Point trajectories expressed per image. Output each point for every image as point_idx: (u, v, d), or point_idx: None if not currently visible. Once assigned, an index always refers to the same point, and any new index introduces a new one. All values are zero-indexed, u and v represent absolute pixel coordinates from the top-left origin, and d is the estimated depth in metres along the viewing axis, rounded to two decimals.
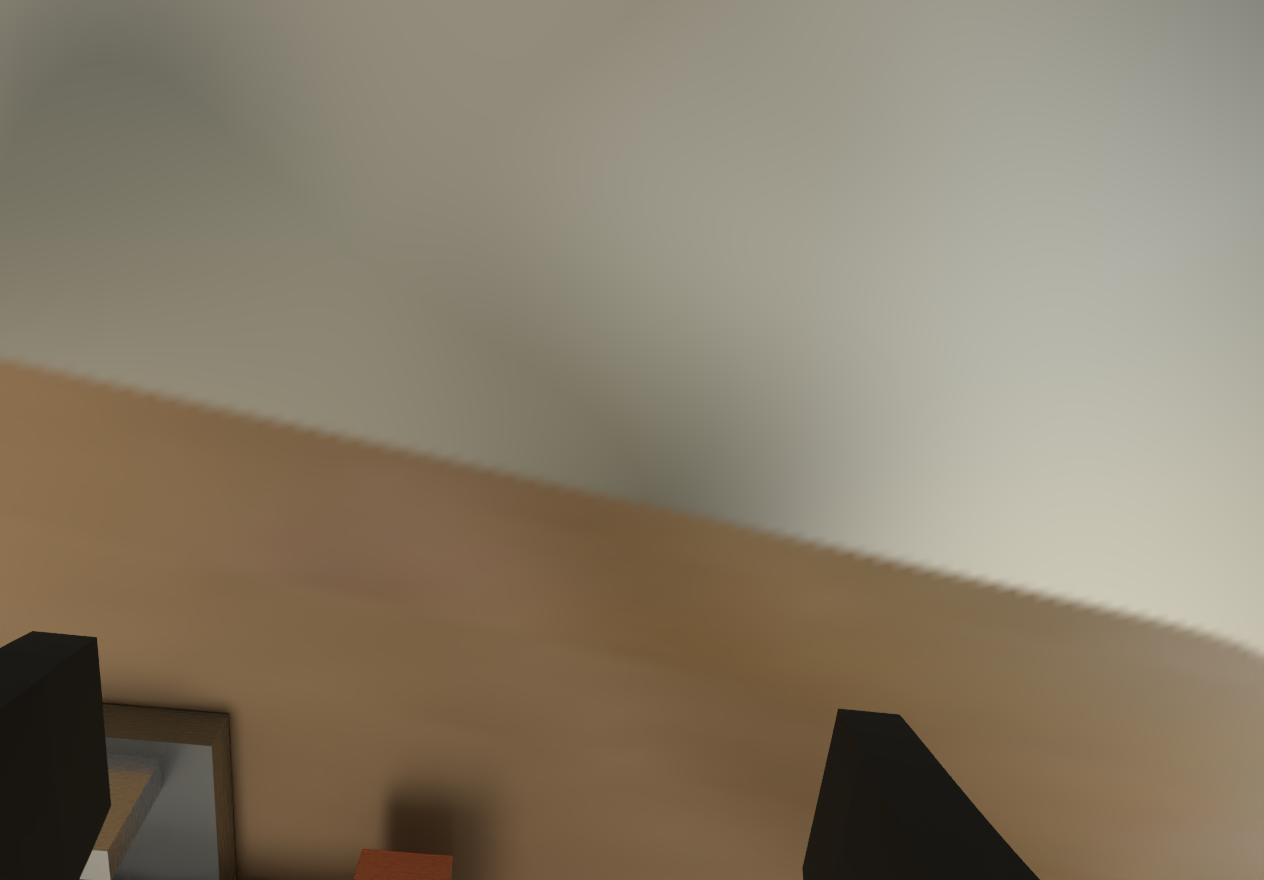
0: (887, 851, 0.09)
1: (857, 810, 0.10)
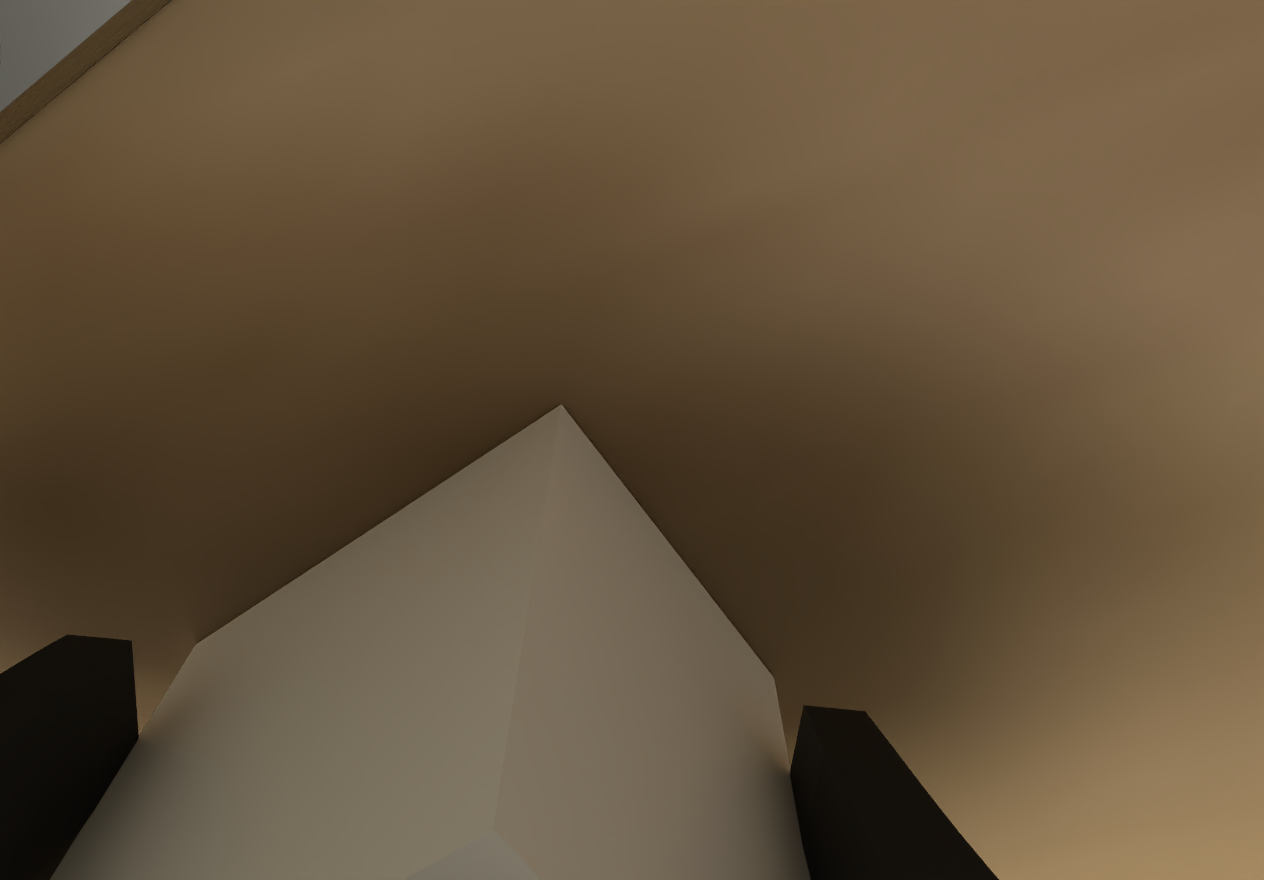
0: (846, 847, 0.09)
1: (820, 806, 0.10)
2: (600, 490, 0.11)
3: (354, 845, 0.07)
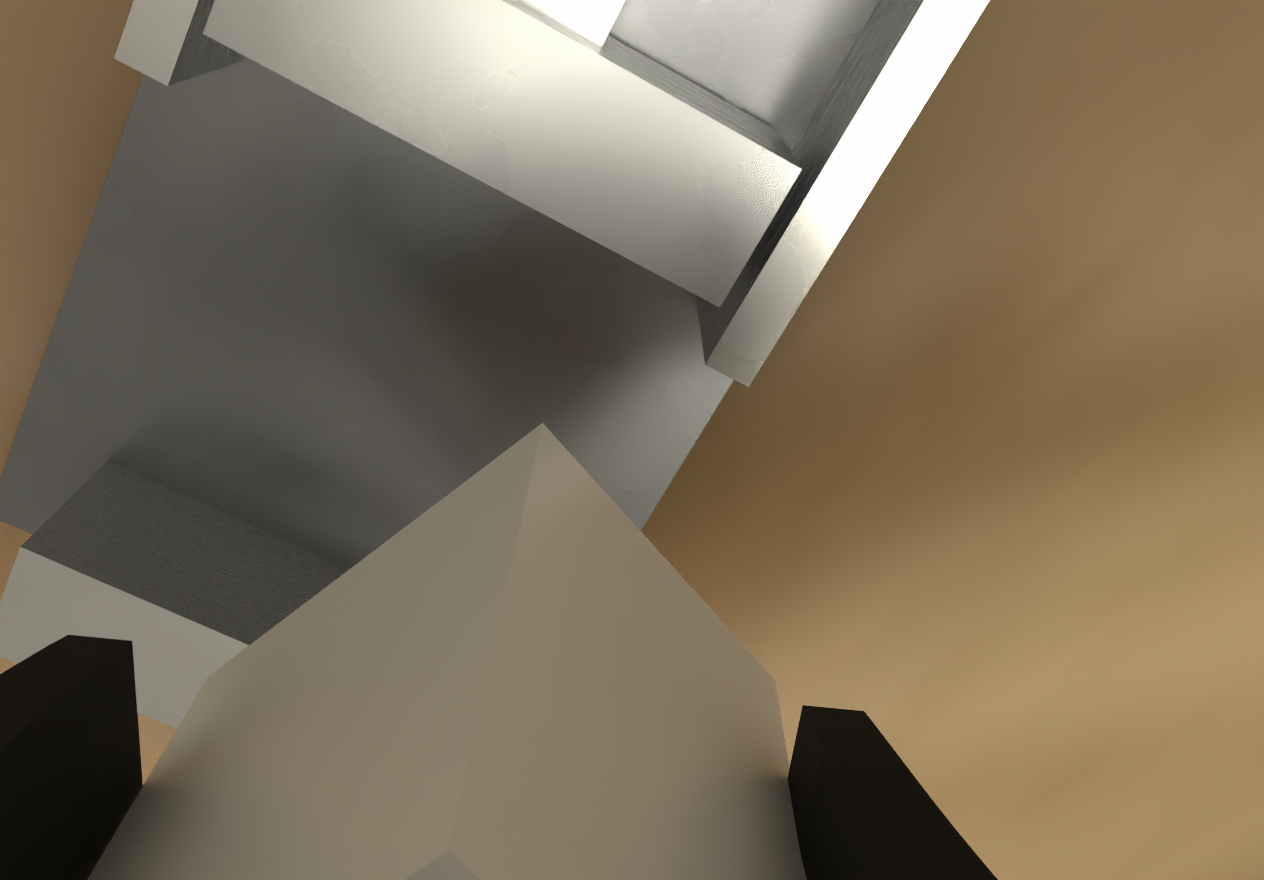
0: (845, 847, 0.09)
1: (818, 806, 0.10)
2: (583, 505, 0.11)
3: (327, 871, 0.07)
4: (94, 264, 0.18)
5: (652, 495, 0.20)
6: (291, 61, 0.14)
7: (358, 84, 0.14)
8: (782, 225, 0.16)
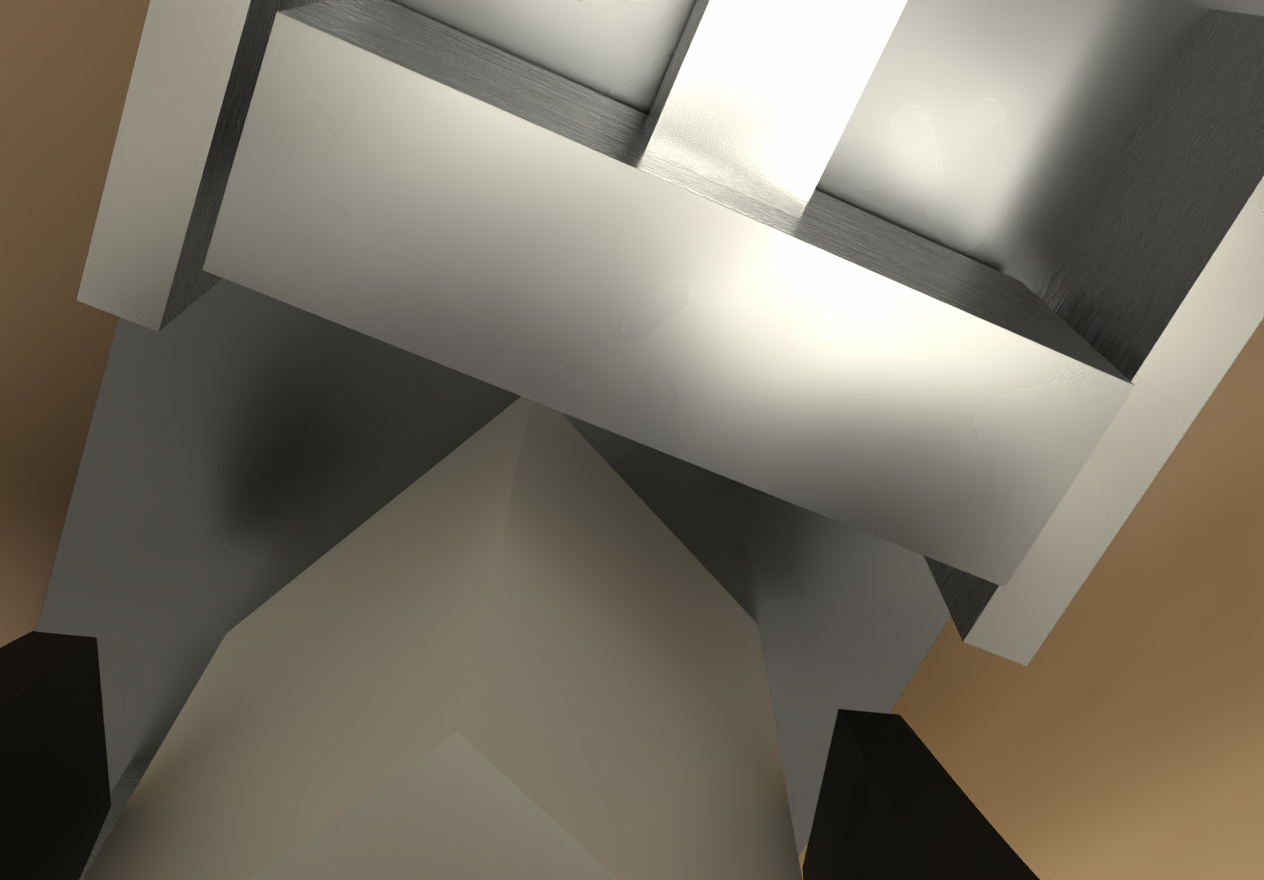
0: (887, 851, 0.09)
1: (857, 810, 0.10)
2: (575, 459, 0.12)
3: (349, 764, 0.08)
4: (87, 527, 0.13)
5: None
6: (341, 297, 0.09)
7: (446, 322, 0.09)
8: None
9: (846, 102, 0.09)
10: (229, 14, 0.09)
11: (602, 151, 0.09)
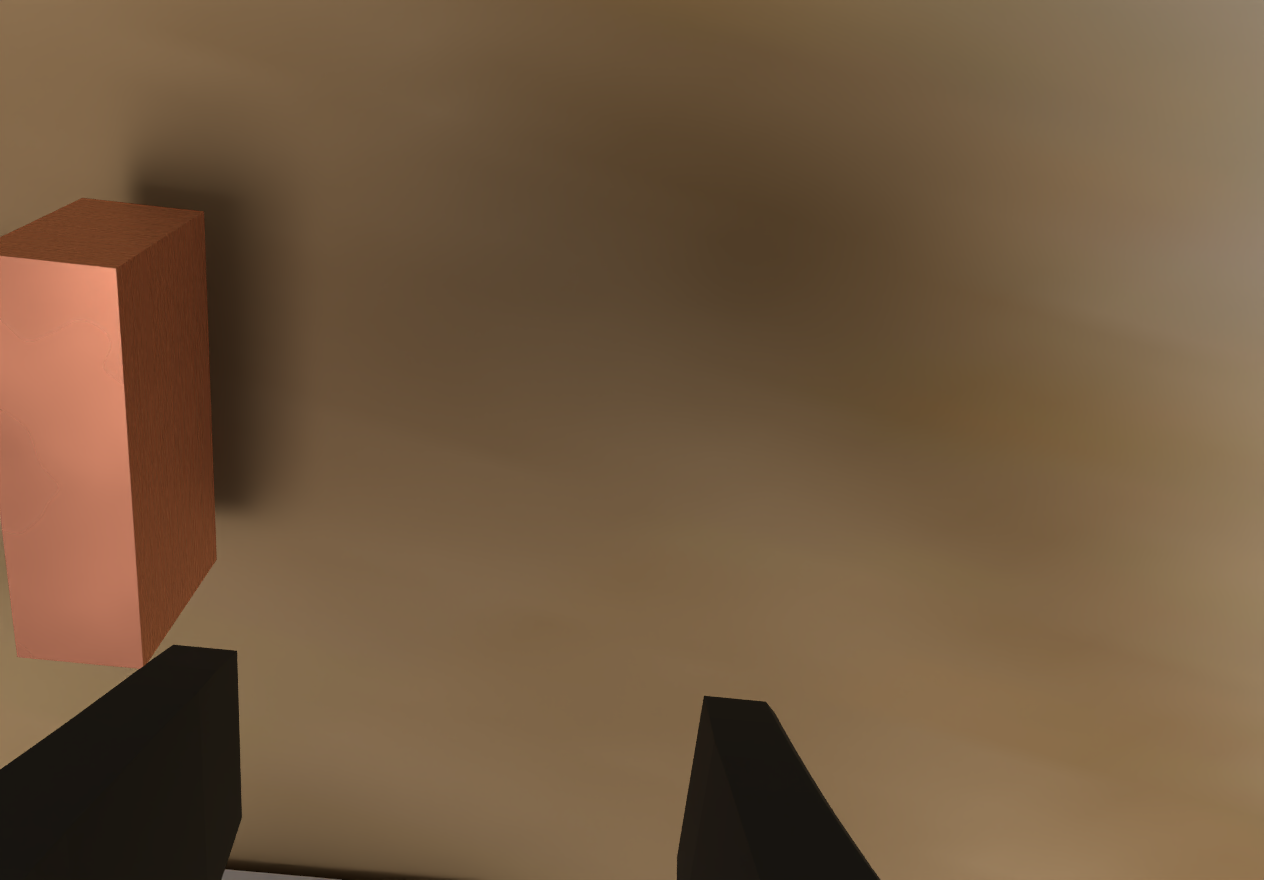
0: (728, 836, 0.09)
1: (710, 796, 0.10)
2: None
3: None
4: None
5: None
6: None
7: None
8: None
9: None
10: None
11: None
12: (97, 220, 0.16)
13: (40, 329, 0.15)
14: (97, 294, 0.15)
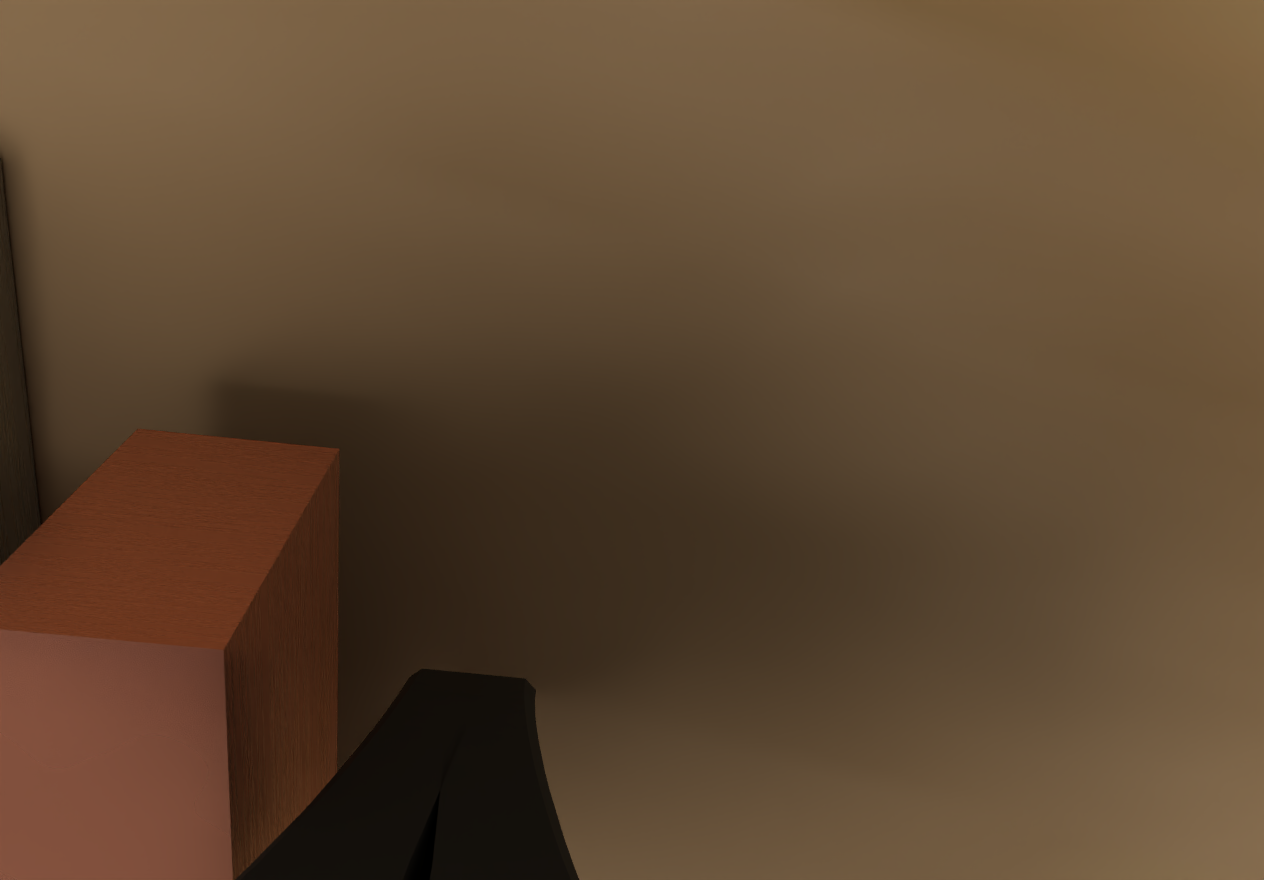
0: None
1: None
2: None
3: None
4: None
5: None
6: None
7: None
8: None
9: None
10: None
11: None
12: (169, 492, 0.09)
13: (79, 749, 0.08)
14: (184, 692, 0.08)
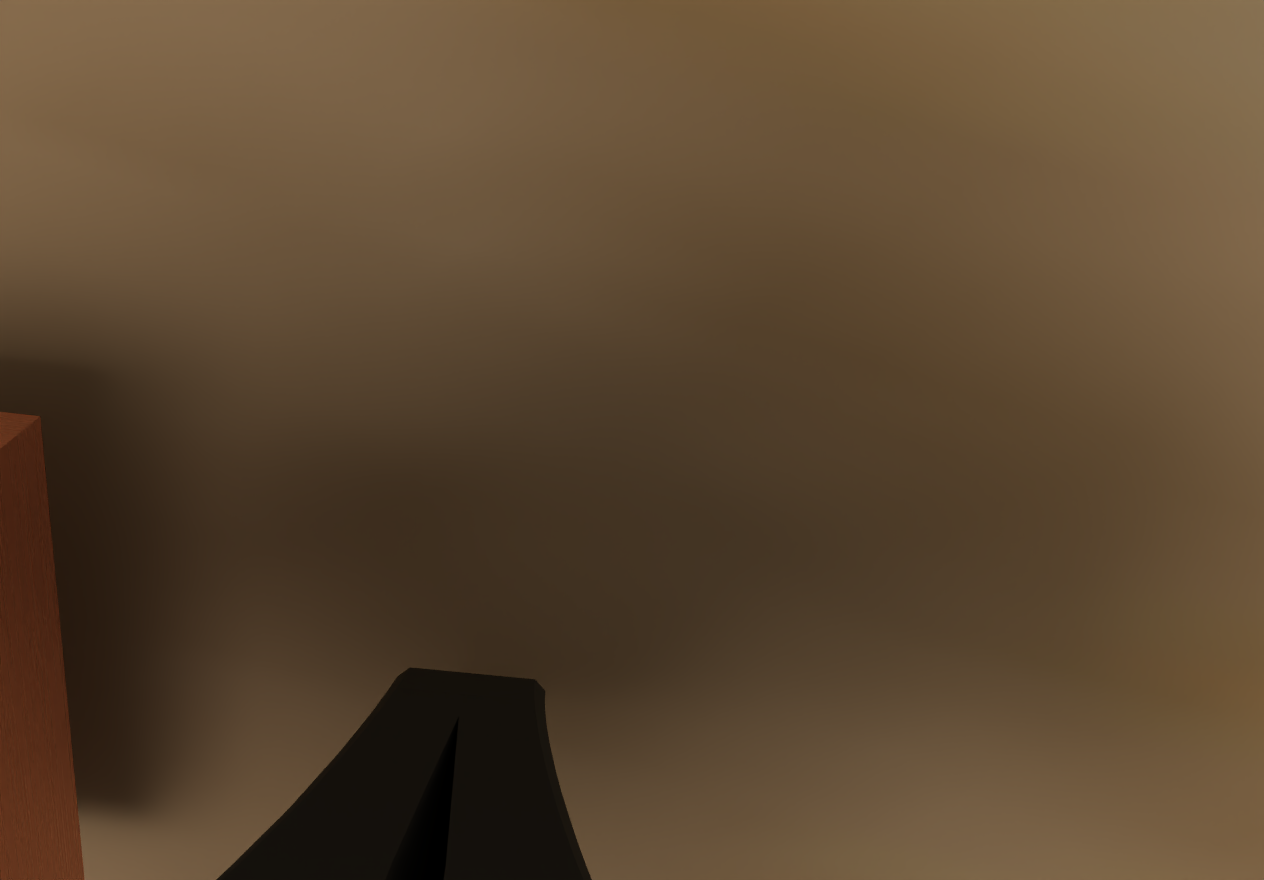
0: None
1: None
2: None
3: None
4: None
5: None
6: None
7: None
8: None
9: None
10: None
11: None
12: None
13: None
14: None
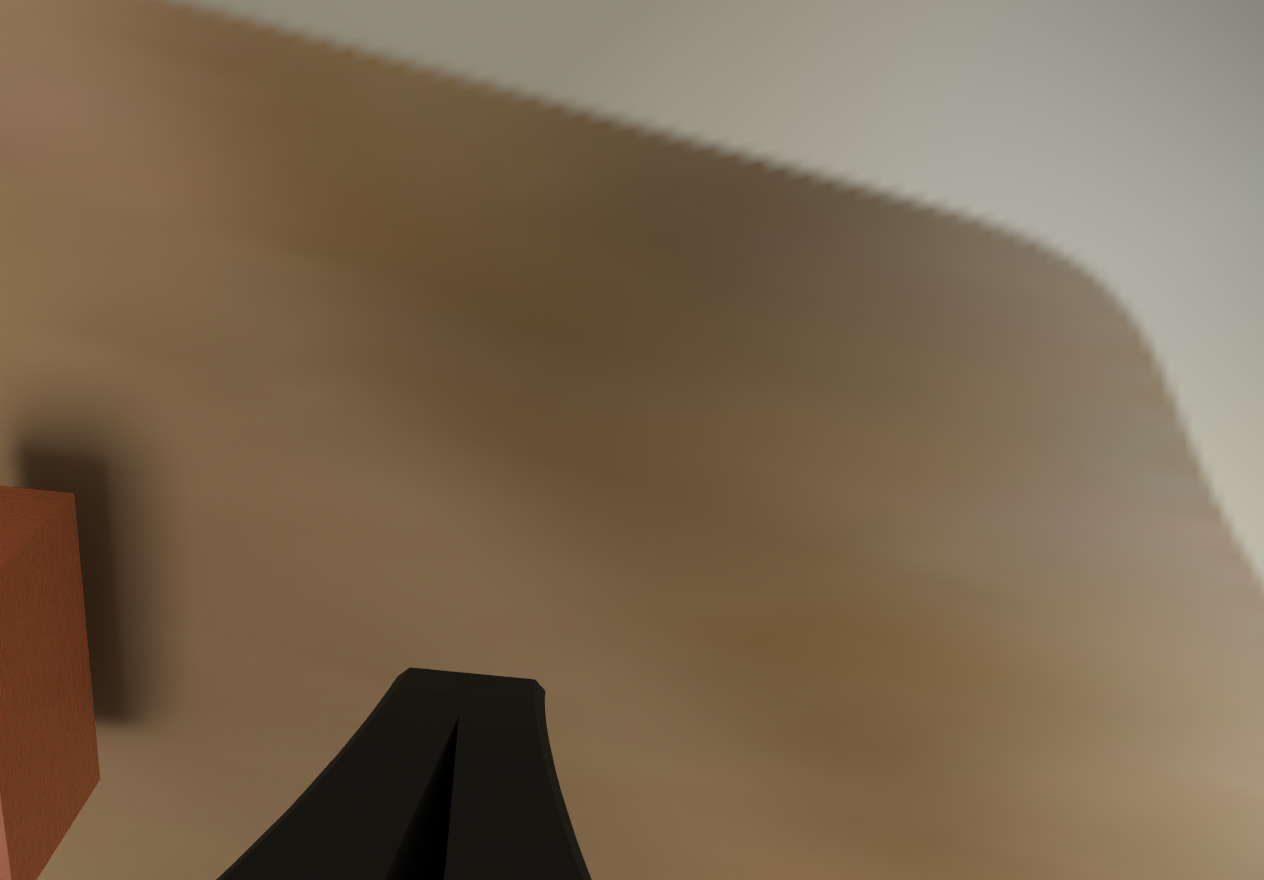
0: None
1: None
2: None
3: None
4: None
5: None
6: None
7: None
8: None
9: None
10: None
11: None
12: None
13: None
14: None
